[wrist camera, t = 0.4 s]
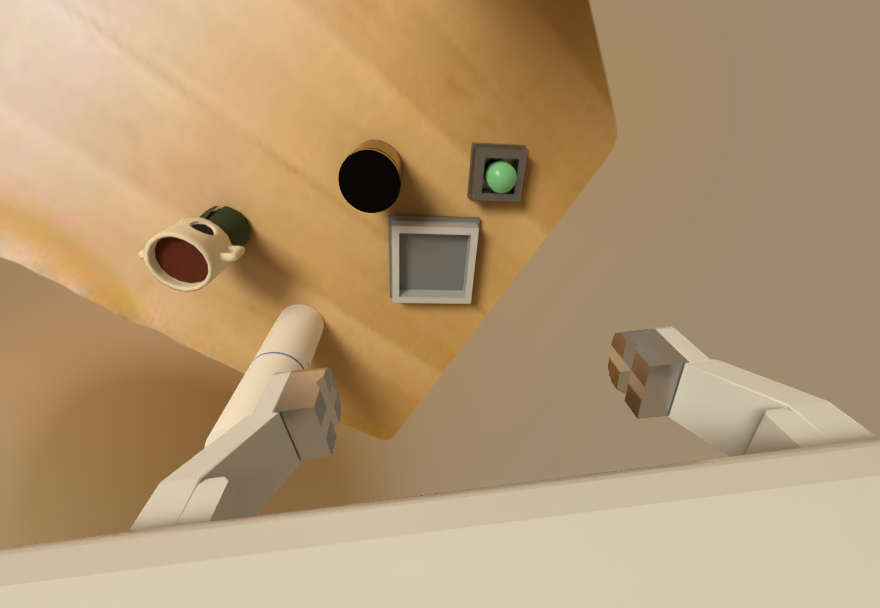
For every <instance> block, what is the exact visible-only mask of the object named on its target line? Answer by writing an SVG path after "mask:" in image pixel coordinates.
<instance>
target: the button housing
mask: <svg viewBox="0 0 880 608" xmlns="http://www.w3.org/2000/svg"><path fill="white" fill-rule="evenodd" d="M525 147H526V146H524V145H511V144H491V143H472V147H471V159H470V170H469V181H468V193H467V197H468V198H472V199H473V200H477V201H504V202H520V200H521V194H522V188H523V181H524V175H525V169H526V163H527V156H528V151H527V150H525ZM498 160H501V161H505V162H507V163H508V164H509V165H511V166H512V167H513V168H514V169H515V171H516V175H517V179H516V183H515V185H514V187H513V188H512V189H511V190H510V191H508V192H506V193H497V192H495V191H493V190H492V189H491V188H490V186H489V185H488V184H487V182H486V180H485V172H486V169H487V167H488V166H489V165H490V164H491V163H492V162H494V161H498Z"/></svg>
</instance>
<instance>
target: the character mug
mask: <svg viewBox="0 0 880 608" xmlns="http://www.w3.org/2000/svg"><path fill="white" fill-rule="evenodd" d="M216 207H217V206H214V207H212V208H211V209H209V210H207V211H206V212H204V213H203V214H202V215H201V216H200V217H192V218H187V219H183V220H180V221H179V222H177V223H175V224H174V225H173V226H172V227H169V228H166V229H164V230H163V231H161V232H160V233H158V234H156V235H155V236H154V237H152V238H151V239H150V240H149V241H148V242H147V243H146V246H145V249H143V250H141V251H140V252H139V253H138V257H139V258H141V259H144V263H145V265H146V266H147V268H148V270H149V271H150V273H151V274H152V275H153V276H154V277H155V278H156V279H157V280H158V281H160V282H161V283H162V284H164V285H166V286H168V287H170V288H172V289H174V290H179V291H185V292H190V291H196V290H200V289H201V288H203V287H204V286H206V285H207V284H209V283H210V282H211V281H212V280H213V279H214V278H215V277H216V276H218V275H219V274H220V273H221V272H222V271H223V270H224V269H225V268H226V267H227V266H228V265H229V263H230V261H236V260H238V259H239V258H240V257H241V256H242V255H243V254H244V253H245V248H244V247H243V246H245V244H246V243H247V241H248V240H249V227H248V225H247V222H246V219H245V218H244V217H243V216H242V215H241V214H240V213H239V212H238V211H236V210H234V209H232V208H230V207H227V206H225V207H223V208H222V209H221V210H218V211H214V212H212V211H213V210H214V209H215V208H216Z"/></svg>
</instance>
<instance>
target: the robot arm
mask: <svg viewBox="0 0 880 608" xmlns="http://www.w3.org/2000/svg"><path fill="white" fill-rule="evenodd" d="M611 345H612V346H613V348H614V349H615V350H616V351H615V352H614V353H613V354H612V355H611V356H610V357H609V363H608V369H609V376H610V378H611V381H612V383H613V384H614V386H615V387H616V389H617V390H619V391H621V392H623V393H625V394H626V397H625V402H626V403H627V405H628V406H629V407H630V409H631V410H632V412H633V413H634V415H635V416H636V417H637V419H638V418H648V417H660V416H669V418H671V419H672V420H674V421H676V422H677V423H679V424H680V425H682V426H683V427H685V428H687V429H688V430H689V431H691V432H693V433H694V434H695V435H697V436H699V437H700V438H702V439H703V440H705V441H706V442H708V443H709V444H711V445H712V446H714V447H716V448H717V449H719V450H720V451H722V452H723V453H725V454H727V455H728V456H729V457H725V458H717V459H709V460H701V461H693V462H685V463H677V464H669V465H661V466H653V467H645V468H637V469H629V470H621V471H613V472H604V473H596V474H588V475H580V476H572V477H564V478H556V479H548V480H540V481H532V482H524V483H516V484H508V485H500V486H492V487H484V488H475V489H467V490H460V491H451V492H444V493H436V494H427V495H420V496H412V497H403V498H395V499H387V500H379V501H372V502H363V503H355V504H347V505H339V506H331V507H323V508H315V509H308V510H300V511H291V512H283V513H275V514H267V515H260V516H257V515H258V514H259V513H260V511H261V510H262V509H263V508H264V507H265V505H266V504H267V503H268V502H269V501H270V499H271V498H272V497H273V496H274V494H275V493H276V492H277V491H278V490H279V488H280V487H281V486H282V485H283V483H284V482H285V481H286V480H287V478H288V477H289V476H290V475H291V474H292V472H293V471H294V470H295V469H296V467H297V466H298V465H299V464H300V461H302V460H309V459H316V458H322V457H329V456H332V454H333V449H334V445H335V440H336V433H335V431H334V428H335V426H337V424H339V421H340V416H341V402H340V396H339V393H338V390H337V389H336V388H334V387H333V386H332V384H333V380H334V377H333V374H332V371H331V369H330V368H328V367H326V368H315V369H305V370H295V371H287V372H278V373H275V374H273V375H272V376H271V378H270V380H269V382H268V384H267V386H266V388H265V391H264V393H263V395H262V397H261V399H260V401H259V403H258V405H257V407H256V409H255V411H254V413H253V415H251V416H246V417H245V418H244V419H242V420H241V421H240V422H238V423H237V424H236V425H234V426H233V427H232V428H231V429H229V430H228V431H227V432H225V433H224V434H223V435H221V436H220V437H219V438H218V439H216V440H215V441H214V442H212V443H211V444H210V445H209V446H207V447H206V448H205V449H203V450H202V451H201V452H199V453H198V454H197V455H196V456H194V457H193V458H192V459H190V460H189V461H188V462H186V463H185V464H184V465H183V466H181V467H180V468H179V469H178V470H176V471H175V472H174V473H172V474H171V475H170V476H168V477H167V478H166V479H165V480H163V481H162V482H161V483H160V484H159V485H158V487H157V488H156V490H155V492H154V493H153V495H152V496H151V498H150V499H149V501H148V502H147V504H146V505H145V507H144V508H143V510H142V512H141V513H140V515H139V516H138V518H137V519H136V521H135V523H134V524H133V526H132V527H131V529H130V530H129V532H124V533H123V532H122V533H114V534H106V535H100V536H99V535H98V536H91V537H82V538H74V539H66V540H59V541H50V542H42V543H35V544H27V545H19V546H10V547H2V548H0V608H880V438H877V437H876V436H874V435H873V434H872V433H871V432H869V431H868V430H866V429H865V428H864V427H862V426H861V425H860V424H858V423H857V422H855V421H854V420H853V419H852V418H850V417H849V416H848V415H846V414H845V413H843V412H842V411H841V410H839V409H838V408H837V407H835V406H834V405H833V404H831V403H830V402H829V401H826V400H823V399H821V398H818V397H815V396H812V395H810V394H807V393H805V392H802V391H799V390H796V389H794V388H791V387H789V386H786V385H783V384H781V383H778V382H775V381H772V380H770V379H767V378H765V377H762V376H759V375H757V374H754V373H751V372H749V371H746V370H743V369H741V368H738V367H735V366H733V365H730V364H727V363H725V362H722V361H719V360H716V359H715V360H710V359H709V358H708V357H706V356H705V355H704V354H703V353H702V352H701V351H700V350H698V349H697V348H696V347H695V346H694V345H693V344H692V343H691V342H689V341H688V340H687V339H686V338H685V337H684V336H683V335H681V334H680V333H679V332H678V331H677V330H676V329H675V328H673V327H671V326H663V327H657V328H651V329H645V330H637V331H630V332H622V333H615V335H614V337H613V340H612V344H611Z"/></svg>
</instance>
